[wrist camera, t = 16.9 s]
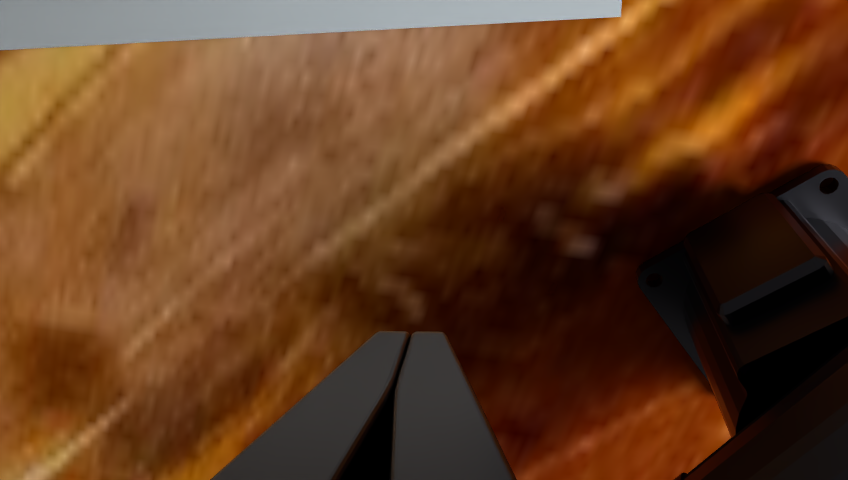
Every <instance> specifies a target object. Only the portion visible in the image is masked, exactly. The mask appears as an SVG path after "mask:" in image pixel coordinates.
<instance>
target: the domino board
mask: <svg viewBox="0 0 848 480" xmlns="http://www.w3.org/2000/svg"><path fill="white" fill-rule="evenodd" d="M621 3H622V0H0V50H14V49H32V48H51V47H69V46H88V45H106V44H125V43H143V42H162V41H180V40H199V39H217V38H236V37H254V36H273V35H291V34H310V33H328V32H347V31H365V30H384V29H402V28H420V27H439V26H457V25H476V24H494V23H513V22H531V21H550V20H568V19H587V18H605V17H621Z"/></svg>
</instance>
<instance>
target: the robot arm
mask: <svg viewBox="0 0 848 480" xmlns="http://www.w3.org/2000/svg"><path fill="white" fill-rule="evenodd" d="M830 177H831V178H833V181H832V183H831V184H830V185H829V186H828V187H826V188H823V189H821V188H819V186H820V184H821V182H822V181H823V180H824V179H827V178H830ZM654 273H656V274H659V275H660V276H659V278H658V279H656V280H654V281H649V280H647V277H648V276H649V275H650V274H654ZM636 279H637V282H638V285H639V287H640V289H641V290H642V292H643V293H644V294H645V296H646V297H647V298H648V300H649V301H650V302H651V304H652V305H653V307H654V308H655V309H656V311H657V312H658V313H659V315H660V316H661V317H662V319H663V320H664V322H665V323H666V324H667V326H668V327H669V328H670V330H671V331H672V332H673V334H674V335H675V337H676V338H677V339H678V341H679V342H680V343H681V345H682V346H683V347H684V349H685V350H686V352H687V353H688V354H689V356H690V357H691V358H692V360H693V361H694V362H695V364H696V365H697V366H698V368H699V369H700V371H701V372H702V373H703V375H704V376H705V377H706V379H707V380H708V381H709V383H710V386H711V388H712V391H713V393H714V396H715V398H716V401H717V403H718V406H719V408H720V410H721V413H722V415H723V418H724V420H725V423H726V425H727V428H728V430H729V433H730V435H731V439H729V440H728V441H727V442H726V443H725V444H723V445H722V446H721V447H720V448H718V449H717V450H716V451H715V452H714V453H712V454H711V455H710V456H709V457H707V458H706V459H705V460H704V461H703V462H701V463H700V464H699V465H698V466H696V467H695V468H694V469H693V470H692V471H690V472H689V473H688V474H687V473H681V474H680V475H679V476H678V477H677V478H675V479H674V480H848V178H847V176H846V175H845V174H844V173H843V172H842V171H841V170H840V169H839V168H837V167H836V166H833V165H830V164H828V165H821V166H818V167H815V168H814V169H812V170H810V171H808V172H806V173H805V174H803V175H801V176H799V177H797V178H796V179H794V180H792V181H790V182H788V183H787V184H785V185H783V186H781V187H779V188H778V189H776V190H774V191H772V192H770V193H769V194H767V193H761V194H759V195H757V196H756V197H754V198H752V199H750V200H748V201H747V202H745V203H743V204H741V205H739V206H738V207H736V208H734V209H732V210H730V211H729V212H727V213H725V214H723V215H721V216H720V217H718V218H716V219H714V220H712V221H711V222H709V223H707V224H705V225H703V226H702V227H700V228H698V229H696V230H694V231H693V232H691V233H689V234H688V235H687V236H686V239H685V240H684V241H682V242H680V243H678V244H677V245H675V246H673V247H671V248H669V249H668V250H666V251H664V252H662V253H660V254H659V255H657V256H655V257H653V258H651V259H650V260H648V261H646V262H644V263H643V264H642V265H640V266H639V268H638V269H637V271H636ZM210 480H517V479H516V477H515V475H514V473H513V471H512V469H511V467H510V465H509V463H508V461H507V459H506V457H505V455H504V453H503V451H502V449H501V446H500V444H499V442H498V440H497V438H496V436H495V434H494V432H493V430H492V428H491V426H490V424H489V422H488V420H487V418H486V415H485V413H484V411H483V409H482V407H481V405H480V403H479V401H478V399H477V397H476V395H475V393H474V391H473V389H472V387H471V385H470V382H469V380H468V378H467V376H466V374H465V372H464V370H463V368H462V366H461V364H460V362H459V360H458V358H457V356H456V354H455V351H454V349H453V347H452V345H451V343H450V341H449V339H448V337H447V335H446V334H445V333H444V332H418V331H417V332H414V333H413V334H412V335H410V333H408V332H406V331H379V332H377V333H375V334H374V335H373V336H372V337H371V338H370V339H368V340H367V341H366V342H365V343H364V344H363V345H362V346H361V347H359V348H358V349H357V350H356V351H355V352H354V353H353V354H351V355H350V356H349V357H348V358H347V359H346V360H345V361H344V362H342V363H341V364H340V365H339V366H338V367H337V368H336V369H335V370H333V371H332V372H331V373H330V374H329V375H328V376H327V377H326V378H324V379H323V380H322V381H321V382H320V383H319V384H318V385H317V386H315V387H314V388H313V389H312V390H311V391H310V392H309V393H307V394H306V395H305V396H304V397H303V398H302V399H301V400H300V401H298V402H297V403H296V404H295V405H294V406H293V407H292V408H291V409H289V410H288V411H287V412H286V413H285V414H284V415H283V416H282V417H280V418H279V419H278V420H277V421H276V422H275V423H274V424H273V425H271V426H270V427H269V428H268V429H267V430H266V431H265V432H263V433H262V434H261V435H260V436H259V437H258V438H257V439H256V440H254V441H253V442H252V443H251V444H250V445H249V446H248V447H247V448H245V449H244V450H243V451H242V452H241V453H240V454H239V455H238V456H236V457H235V458H234V459H233V460H232V461H231V462H230V463H228V464H227V465H226V466H225V467H224V468H223V469H222V470H221V471H219V472H218V473H217V474H216V475H215V476H214V477H213V478H212V479H210Z"/></svg>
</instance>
